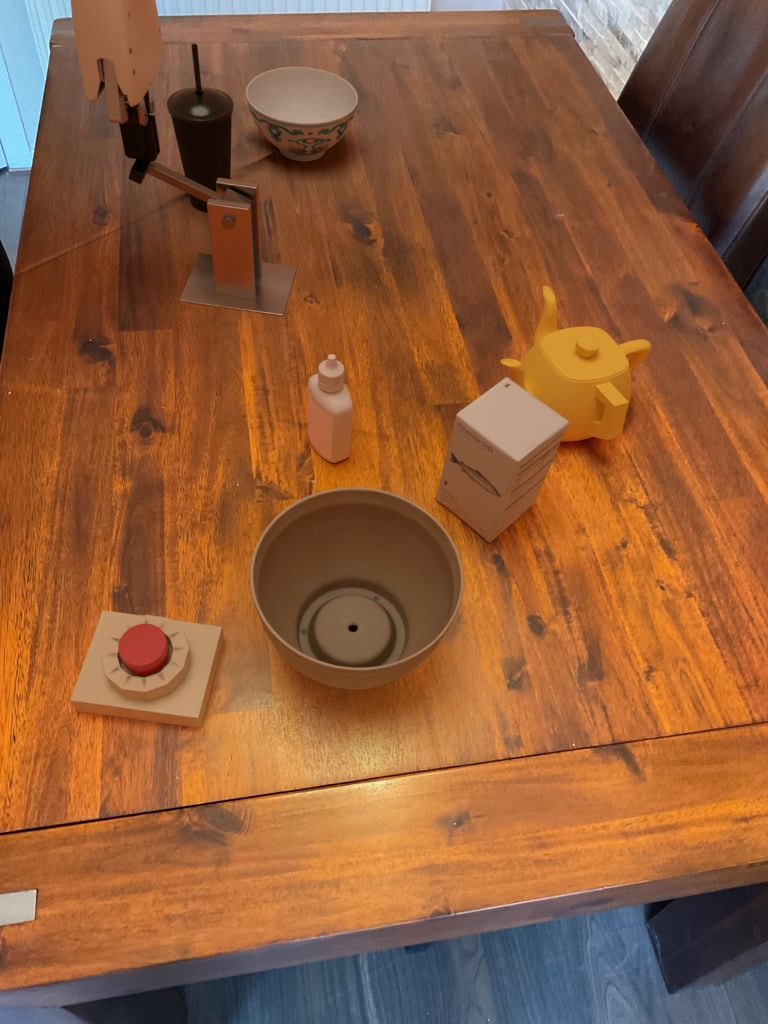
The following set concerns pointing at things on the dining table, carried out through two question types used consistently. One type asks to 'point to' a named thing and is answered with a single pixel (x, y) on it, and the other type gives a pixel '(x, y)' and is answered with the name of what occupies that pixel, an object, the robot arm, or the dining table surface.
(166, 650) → the button
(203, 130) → the drinking cup
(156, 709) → the button block
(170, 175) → the lever
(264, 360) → the dining table surface
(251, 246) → the lever stand
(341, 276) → the dining table surface
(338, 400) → the eye dropper bottle
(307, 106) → the chinaware
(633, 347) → the teapot
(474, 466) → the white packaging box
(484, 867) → the dining table surface
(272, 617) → the planter bowl
